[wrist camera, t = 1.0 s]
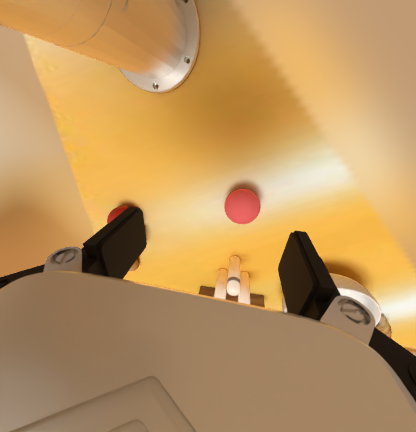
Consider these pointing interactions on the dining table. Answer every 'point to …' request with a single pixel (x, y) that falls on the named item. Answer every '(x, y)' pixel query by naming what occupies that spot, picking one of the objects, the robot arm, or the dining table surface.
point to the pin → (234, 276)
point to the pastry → (384, 326)
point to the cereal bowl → (353, 294)
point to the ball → (242, 206)
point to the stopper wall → (254, 299)
